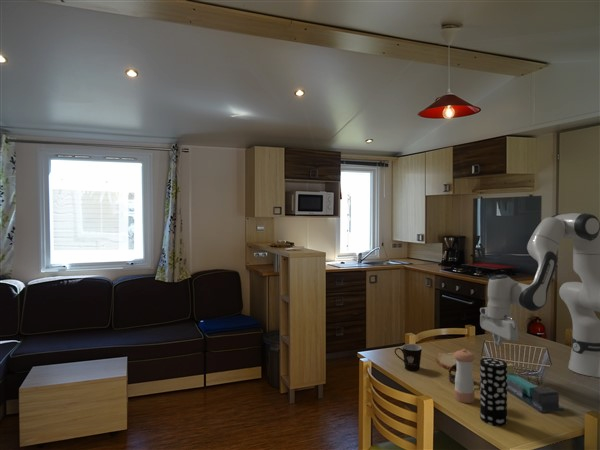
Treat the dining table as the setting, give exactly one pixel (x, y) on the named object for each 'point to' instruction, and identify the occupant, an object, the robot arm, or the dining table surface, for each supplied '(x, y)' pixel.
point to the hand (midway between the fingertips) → (498, 345)
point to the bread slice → (446, 360)
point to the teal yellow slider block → (519, 380)
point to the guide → (537, 397)
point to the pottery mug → (451, 376)
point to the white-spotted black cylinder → (493, 391)
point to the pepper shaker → (464, 377)
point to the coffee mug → (411, 356)
